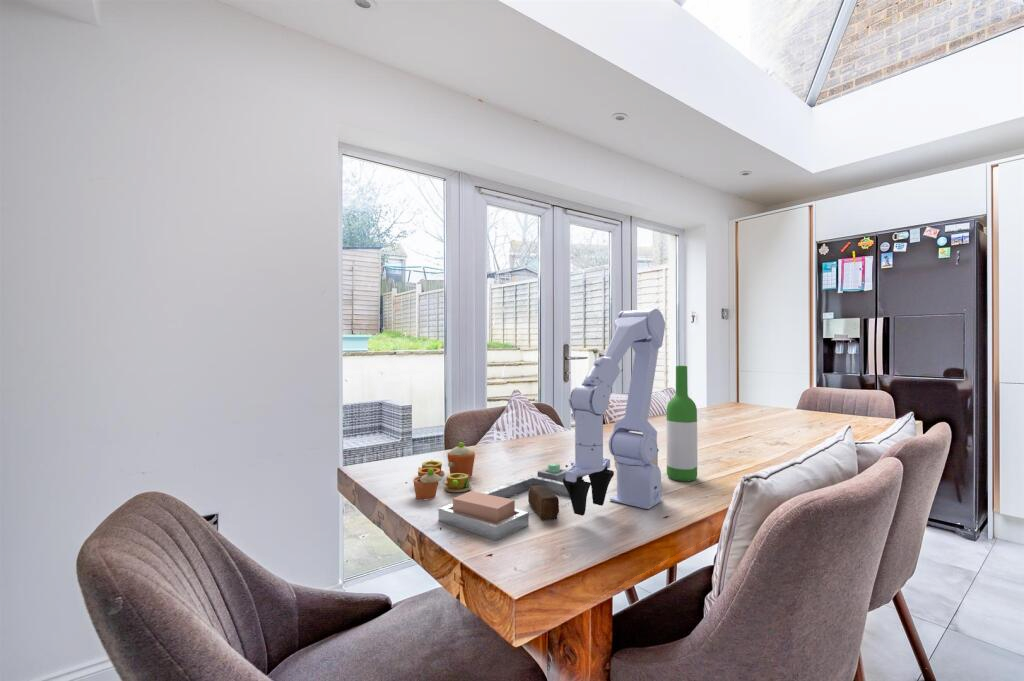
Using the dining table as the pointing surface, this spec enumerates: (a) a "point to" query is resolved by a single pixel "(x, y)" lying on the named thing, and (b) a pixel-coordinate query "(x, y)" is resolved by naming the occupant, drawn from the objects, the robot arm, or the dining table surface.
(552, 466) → the button
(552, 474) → the console
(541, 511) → the brick
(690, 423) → the wine bottle
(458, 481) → the toy tea set
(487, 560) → the dining table surface
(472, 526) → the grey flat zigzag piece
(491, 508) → the twin block
